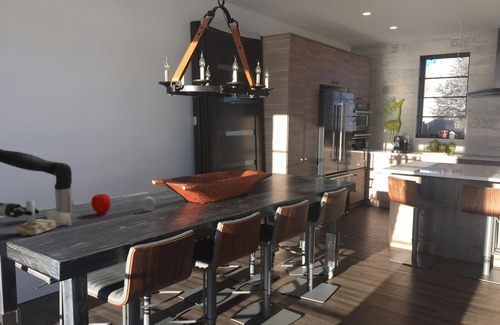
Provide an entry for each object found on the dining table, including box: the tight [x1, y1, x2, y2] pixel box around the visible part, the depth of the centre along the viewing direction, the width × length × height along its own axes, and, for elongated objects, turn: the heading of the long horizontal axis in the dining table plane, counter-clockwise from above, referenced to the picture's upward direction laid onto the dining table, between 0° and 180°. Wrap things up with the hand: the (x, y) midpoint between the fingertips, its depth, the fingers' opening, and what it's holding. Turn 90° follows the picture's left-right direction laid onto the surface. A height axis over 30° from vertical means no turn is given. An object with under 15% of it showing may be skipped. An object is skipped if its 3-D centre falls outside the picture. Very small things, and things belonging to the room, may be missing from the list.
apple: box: [90, 193, 112, 216], centre depth 257 cm, size 12×12×13 cm
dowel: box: [25, 199, 37, 226], centre depth 216 cm, size 4×4×14 cm
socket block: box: [16, 218, 57, 236], centre depth 220 cm, size 14×12×4 cm
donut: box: [140, 195, 156, 212], centre depth 265 cm, size 10×4×10 cm, turn 130°
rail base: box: [18, 210, 72, 236], centre depth 224 cm, size 25×16×7 cm, turn 162°
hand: (34, 212), depth 215 cm, fingers closed on dowel, 4 cm apart
